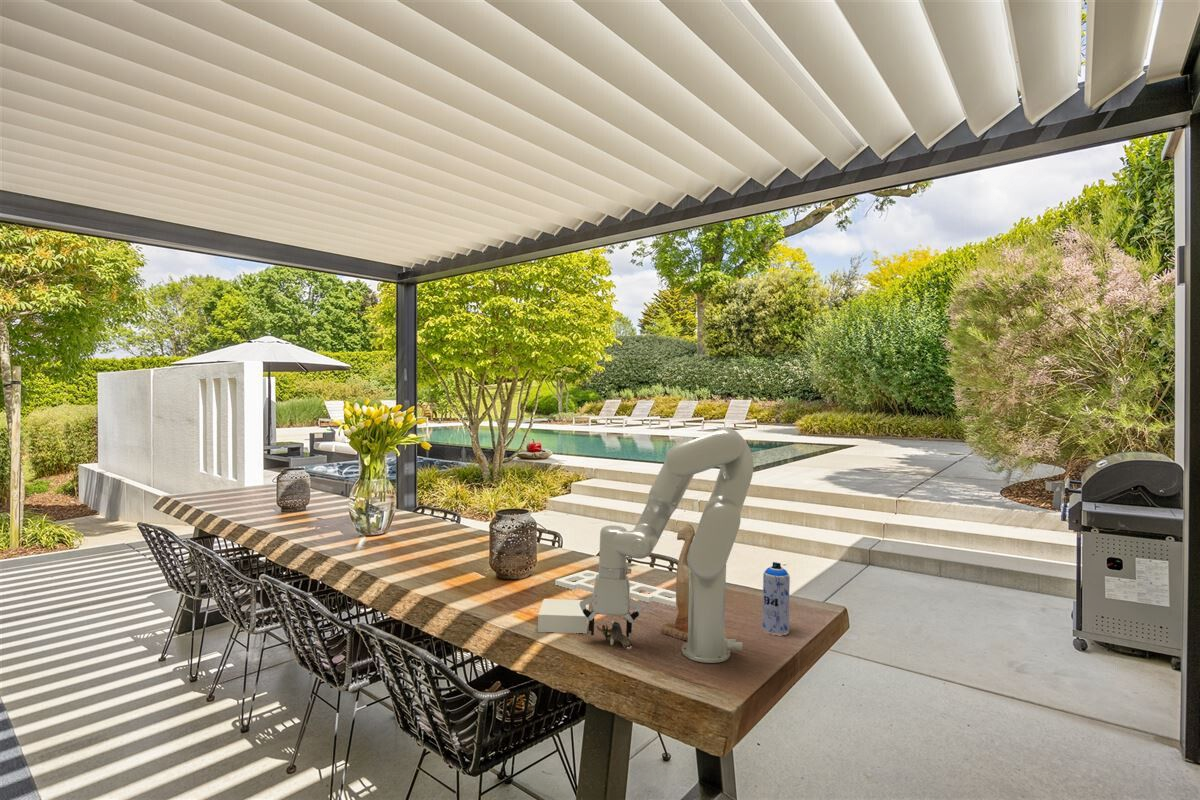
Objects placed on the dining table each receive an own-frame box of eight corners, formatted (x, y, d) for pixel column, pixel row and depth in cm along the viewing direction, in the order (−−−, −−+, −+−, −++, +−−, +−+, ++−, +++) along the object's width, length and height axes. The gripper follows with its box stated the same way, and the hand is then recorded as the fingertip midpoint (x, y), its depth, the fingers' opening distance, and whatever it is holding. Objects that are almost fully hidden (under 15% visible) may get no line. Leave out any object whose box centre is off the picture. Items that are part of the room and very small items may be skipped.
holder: (690, 603, 201) (690, 595, 201) (660, 617, 187) (660, 609, 188) (587, 577, 230) (587, 569, 230) (554, 587, 216) (554, 579, 216)
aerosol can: (756, 630, 177) (758, 562, 177) (769, 624, 182) (770, 557, 183) (781, 638, 171) (783, 567, 172) (793, 631, 177) (795, 563, 177)
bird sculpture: (680, 624, 182) (679, 517, 182) (715, 633, 174) (714, 522, 175) (660, 635, 173) (659, 523, 174) (695, 645, 166) (694, 527, 166)
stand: (588, 616, 185) (589, 600, 185) (586, 633, 171) (587, 616, 171) (543, 615, 186) (543, 598, 186) (537, 632, 172) (538, 614, 172)
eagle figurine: (592, 641, 163) (619, 643, 158) (598, 615, 167) (624, 616, 162) (608, 650, 168) (635, 652, 162) (614, 624, 172) (640, 626, 166)
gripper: (643, 569, 169) (640, 630, 169) (581, 566, 169) (579, 627, 169) (644, 577, 161) (642, 641, 161) (580, 574, 162) (577, 638, 162)
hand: (609, 634), depth 165 cm, fingers open, 9 cm apart
